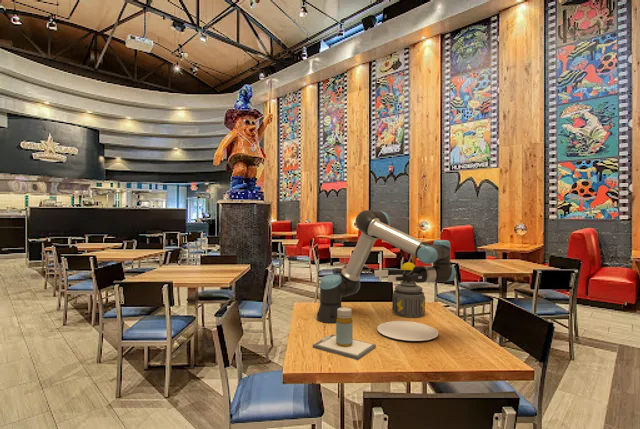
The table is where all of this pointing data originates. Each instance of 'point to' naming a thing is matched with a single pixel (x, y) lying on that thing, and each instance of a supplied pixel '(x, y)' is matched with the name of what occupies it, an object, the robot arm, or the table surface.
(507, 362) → the table surface
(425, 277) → the robot arm
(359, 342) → the clipboard
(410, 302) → the decorative lamp
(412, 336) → the plate
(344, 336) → the bottle
